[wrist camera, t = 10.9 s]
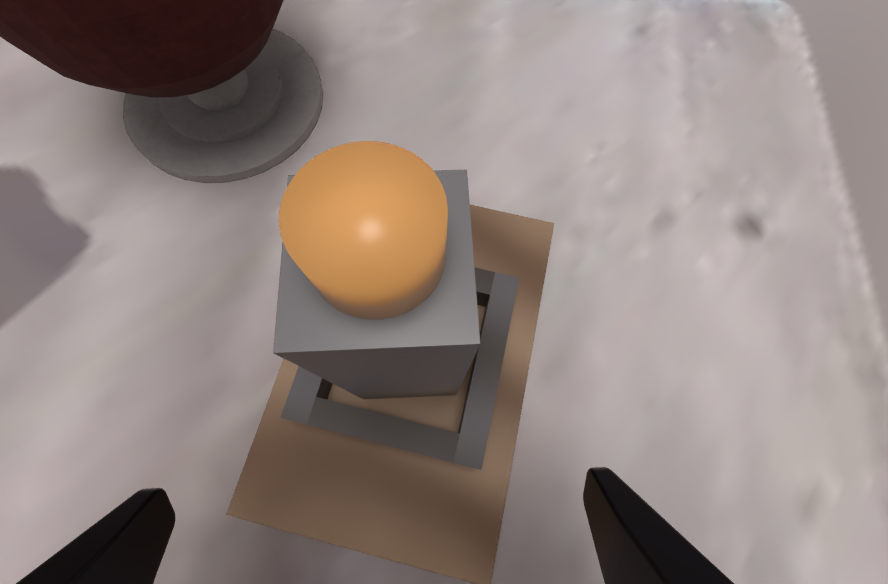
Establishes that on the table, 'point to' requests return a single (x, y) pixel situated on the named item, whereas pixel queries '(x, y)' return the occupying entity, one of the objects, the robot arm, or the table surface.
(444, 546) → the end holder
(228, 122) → the mate gourd
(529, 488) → the table surface
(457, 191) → the connector plug
